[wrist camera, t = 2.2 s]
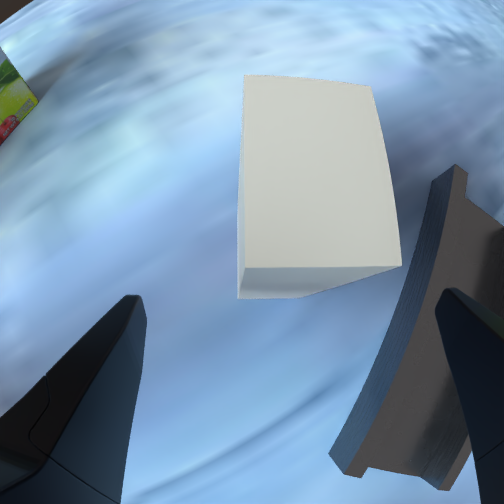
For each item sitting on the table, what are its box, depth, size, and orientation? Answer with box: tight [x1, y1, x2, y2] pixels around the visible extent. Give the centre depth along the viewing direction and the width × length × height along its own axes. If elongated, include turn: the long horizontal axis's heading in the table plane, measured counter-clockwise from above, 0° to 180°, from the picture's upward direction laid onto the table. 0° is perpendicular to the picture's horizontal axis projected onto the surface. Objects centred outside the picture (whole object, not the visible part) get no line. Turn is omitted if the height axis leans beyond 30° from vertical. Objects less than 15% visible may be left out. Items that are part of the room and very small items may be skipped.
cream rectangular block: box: [237, 75, 402, 299], centre depth 13 cm, size 5×4×12 cm
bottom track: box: [328, 164, 504, 491], centre depth 17 cm, size 20×9×3 cm, turn 155°
